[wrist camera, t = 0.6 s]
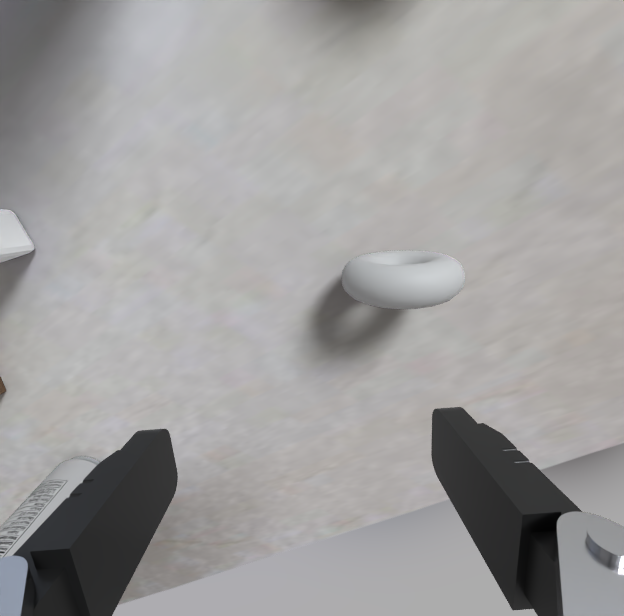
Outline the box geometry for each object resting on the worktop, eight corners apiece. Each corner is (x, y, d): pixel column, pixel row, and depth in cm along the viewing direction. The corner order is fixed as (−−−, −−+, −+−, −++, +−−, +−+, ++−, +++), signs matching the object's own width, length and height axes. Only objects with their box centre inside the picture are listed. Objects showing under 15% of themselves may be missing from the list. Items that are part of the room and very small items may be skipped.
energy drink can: (81, 497, 37) (-52, 676, 23) (48, 464, 35) (-119, 635, 21) (122, 480, 37) (13, 651, 22) (91, 445, 35) (-50, 607, 21)
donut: (335, 286, 30) (353, 320, 21) (333, 252, 29) (351, 272, 20) (430, 278, 31) (491, 308, 21) (432, 245, 30) (497, 261, 20)
